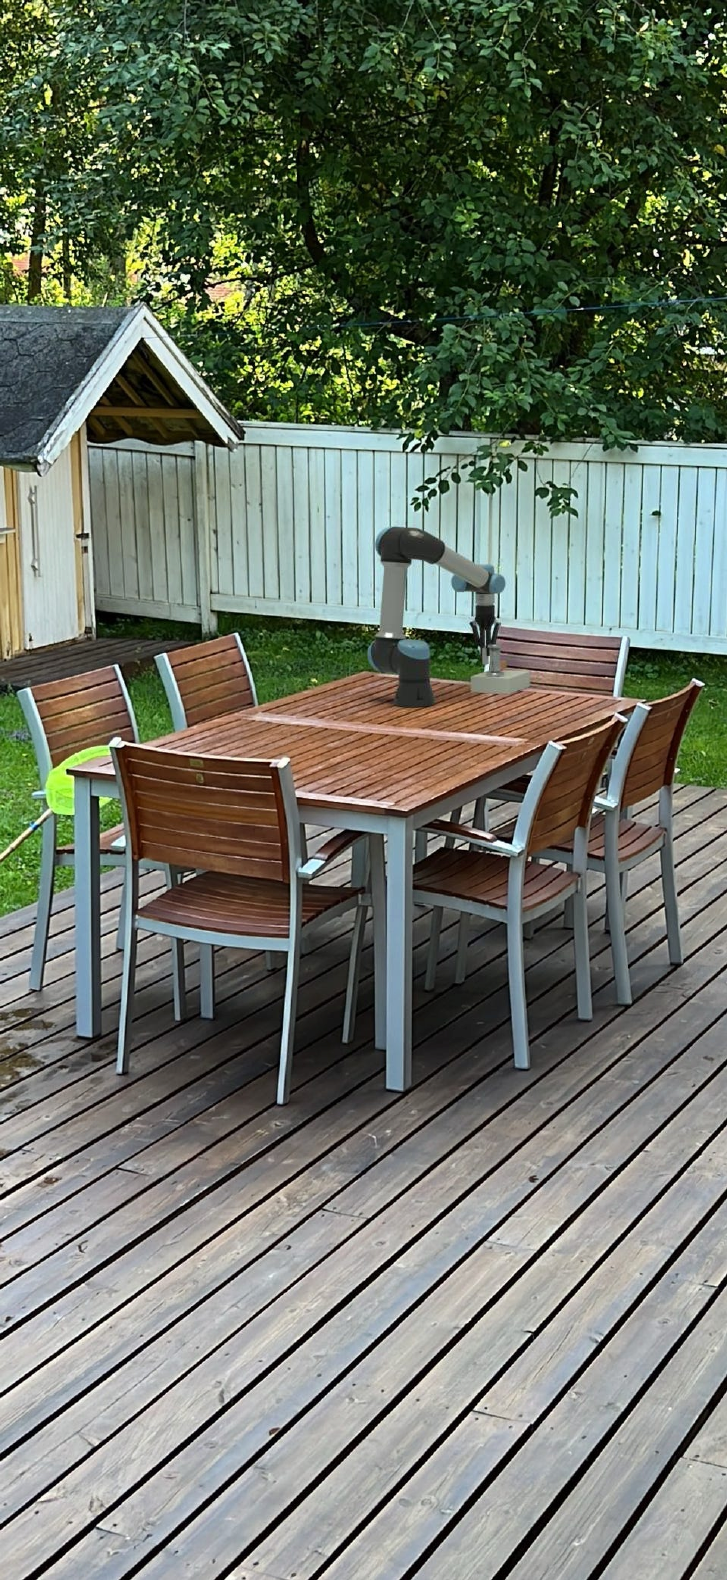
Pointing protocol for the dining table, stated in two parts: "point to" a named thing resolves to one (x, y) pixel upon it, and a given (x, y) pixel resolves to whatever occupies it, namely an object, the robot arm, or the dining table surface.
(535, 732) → the dining table surface
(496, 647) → the grey flanged post
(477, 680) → the block
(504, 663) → the lock tab
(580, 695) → the dining table surface
